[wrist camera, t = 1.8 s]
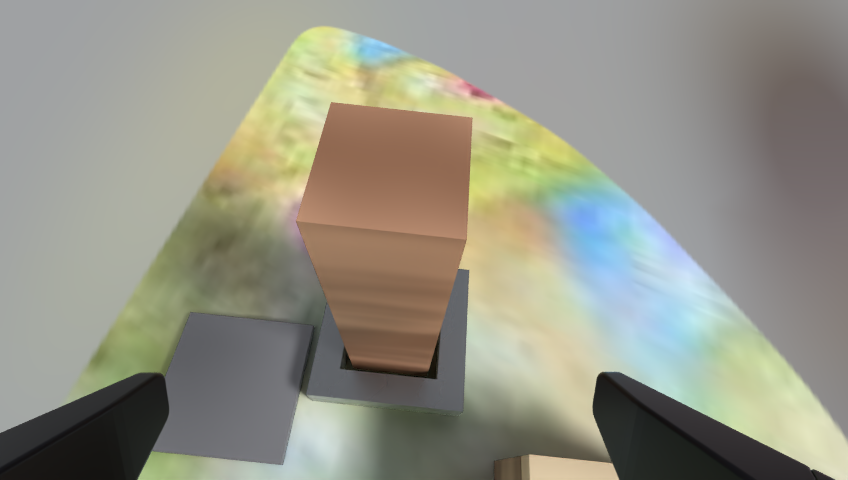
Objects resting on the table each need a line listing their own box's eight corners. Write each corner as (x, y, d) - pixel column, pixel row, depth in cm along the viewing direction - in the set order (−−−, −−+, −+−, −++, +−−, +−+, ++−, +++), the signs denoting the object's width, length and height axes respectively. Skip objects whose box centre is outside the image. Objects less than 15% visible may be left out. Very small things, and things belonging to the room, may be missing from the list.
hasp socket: (458, 416, 19) (463, 411, 18) (312, 400, 19) (306, 394, 18) (464, 282, 22) (469, 270, 21) (340, 268, 22) (337, 255, 21)
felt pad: (282, 464, 18) (280, 464, 17) (141, 449, 18) (136, 449, 17) (314, 327, 21) (313, 325, 20) (194, 314, 21) (190, 312, 20)
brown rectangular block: (426, 376, 20) (466, 239, 8) (353, 368, 20) (296, 221, 8) (432, 307, 21) (472, 117, 10) (365, 300, 21) (331, 102, 10)
